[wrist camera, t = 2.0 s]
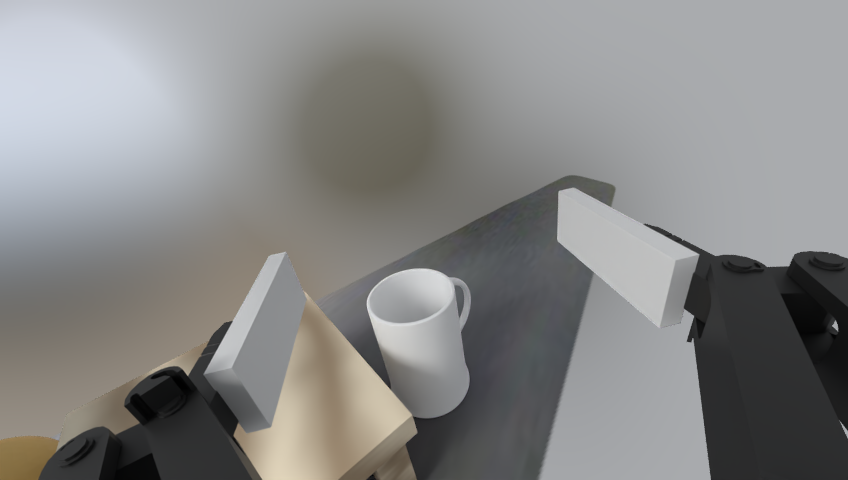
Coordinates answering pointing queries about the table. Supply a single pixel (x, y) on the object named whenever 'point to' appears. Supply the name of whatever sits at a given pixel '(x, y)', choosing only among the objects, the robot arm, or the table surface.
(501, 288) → the table surface
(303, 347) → the footstool
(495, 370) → the table surface
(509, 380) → the table surface
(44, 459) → the stress ball
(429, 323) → the mug
